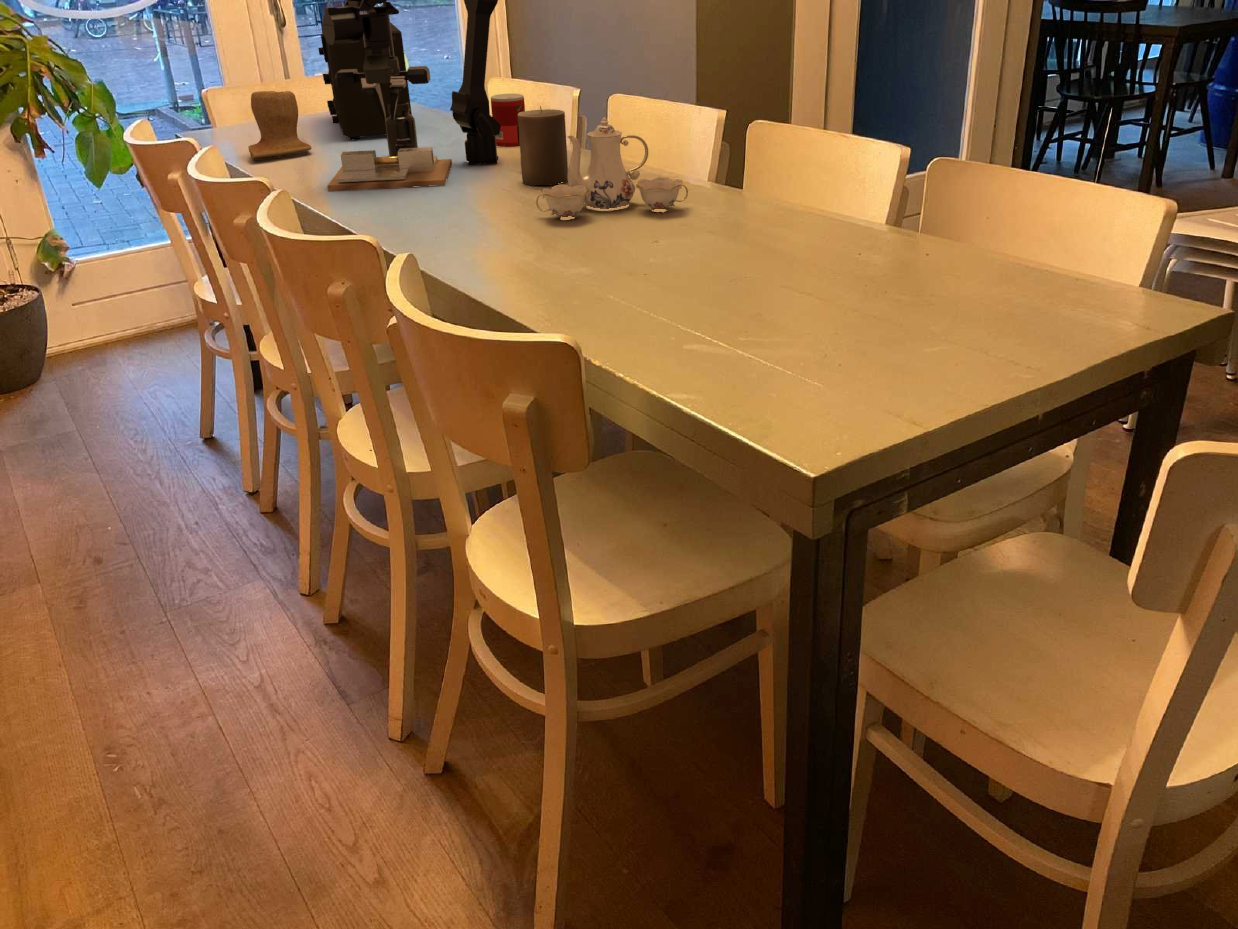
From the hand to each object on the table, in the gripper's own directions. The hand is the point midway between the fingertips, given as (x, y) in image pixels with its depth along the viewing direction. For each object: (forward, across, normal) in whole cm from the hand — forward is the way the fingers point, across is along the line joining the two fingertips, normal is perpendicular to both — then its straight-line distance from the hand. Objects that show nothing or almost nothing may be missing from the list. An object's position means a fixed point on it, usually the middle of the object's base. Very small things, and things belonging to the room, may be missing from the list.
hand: (388, 120), depth 213 cm
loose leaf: (+10, -4, -3) cm, 12 cm away
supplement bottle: (+12, -1, +22) cm, 25 cm away
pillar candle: (+12, +32, -9) cm, 35 cm away
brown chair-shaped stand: (+12, -32, +30) cm, 46 cm away
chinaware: (+12, +44, -34) cm, 57 cm away
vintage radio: (+12, -15, +62) cm, 65 cm away
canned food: (+12, +24, +32) cm, 41 cm away
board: (+12, -1, +1) cm, 12 cm away
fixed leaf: (+11, +1, +5) cm, 12 cm away
